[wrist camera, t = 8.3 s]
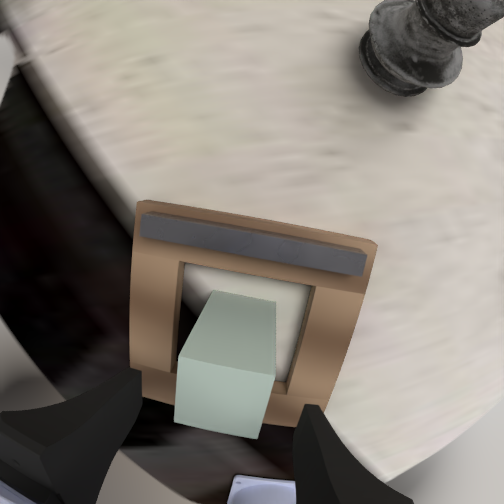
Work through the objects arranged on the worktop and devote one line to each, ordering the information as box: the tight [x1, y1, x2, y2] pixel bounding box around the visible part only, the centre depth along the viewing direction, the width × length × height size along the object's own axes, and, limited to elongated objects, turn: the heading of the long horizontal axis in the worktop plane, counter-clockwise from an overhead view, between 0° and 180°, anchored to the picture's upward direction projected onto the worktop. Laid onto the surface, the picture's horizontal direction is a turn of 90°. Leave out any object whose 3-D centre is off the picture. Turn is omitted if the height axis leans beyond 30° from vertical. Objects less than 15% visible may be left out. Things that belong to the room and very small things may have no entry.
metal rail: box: [139, 211, 367, 277], centre depth 17 cm, size 1×12×2 cm, turn 80°
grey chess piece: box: [359, 0, 504, 97], centre depth 10 cm, size 6×6×12 cm
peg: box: [174, 290, 276, 439], centre depth 17 cm, size 4×4×8 cm
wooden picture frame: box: [130, 200, 378, 427], centre depth 20 cm, size 14×14×2 cm
